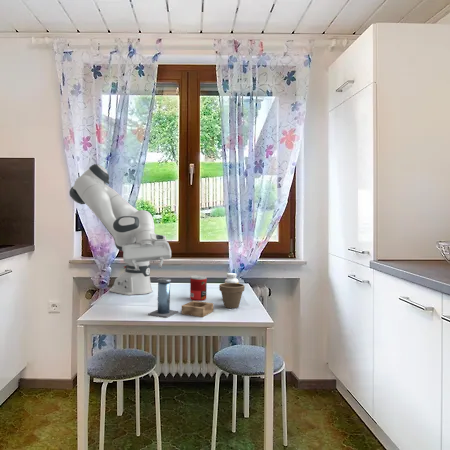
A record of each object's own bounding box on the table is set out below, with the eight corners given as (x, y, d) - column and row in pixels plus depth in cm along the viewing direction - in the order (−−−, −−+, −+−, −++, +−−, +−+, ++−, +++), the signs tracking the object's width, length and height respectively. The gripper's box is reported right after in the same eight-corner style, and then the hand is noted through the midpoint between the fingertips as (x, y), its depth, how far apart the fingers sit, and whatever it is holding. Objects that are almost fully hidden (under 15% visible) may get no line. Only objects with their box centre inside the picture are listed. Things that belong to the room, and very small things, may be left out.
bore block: (181, 314, 167) (181, 305, 166) (192, 308, 176) (192, 300, 176) (202, 317, 163) (203, 308, 163) (213, 311, 172) (213, 303, 172)
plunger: (153, 312, 165) (154, 280, 164) (161, 309, 170) (162, 277, 170) (165, 314, 163) (166, 281, 162) (173, 311, 168) (173, 279, 167)
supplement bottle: (238, 298, 197) (238, 272, 196) (238, 301, 190) (238, 275, 189) (224, 298, 197) (225, 272, 196) (224, 301, 190) (224, 274, 190)
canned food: (204, 301, 189) (204, 278, 189) (188, 300, 191) (188, 277, 190) (208, 297, 197) (208, 275, 196) (192, 296, 198) (192, 274, 198)
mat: (148, 314, 164) (148, 313, 164) (160, 309, 173) (160, 308, 173) (166, 317, 161) (166, 316, 161) (178, 312, 169) (178, 311, 169)
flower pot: (228, 302, 188) (228, 281, 188) (248, 306, 182) (249, 284, 181) (213, 307, 179) (214, 285, 178) (234, 311, 172) (235, 288, 172)
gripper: (121, 239, 170) (122, 267, 162) (169, 235, 174) (173, 262, 166) (122, 248, 175) (123, 275, 167) (169, 244, 179) (172, 270, 171)
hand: (148, 268), depth 166 cm, fingers open, 8 cm apart
